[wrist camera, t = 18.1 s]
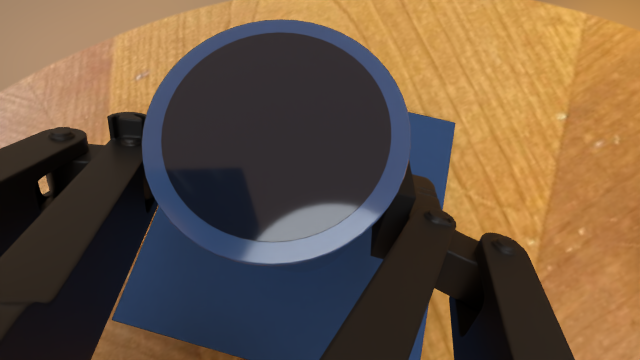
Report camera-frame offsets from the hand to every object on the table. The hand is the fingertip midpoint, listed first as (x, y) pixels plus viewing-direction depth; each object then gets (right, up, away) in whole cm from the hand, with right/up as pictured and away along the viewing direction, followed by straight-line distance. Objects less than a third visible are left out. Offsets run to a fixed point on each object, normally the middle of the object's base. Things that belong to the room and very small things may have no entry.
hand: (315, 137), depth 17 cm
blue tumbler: (-1, -4, +2) cm, 5 cm away
